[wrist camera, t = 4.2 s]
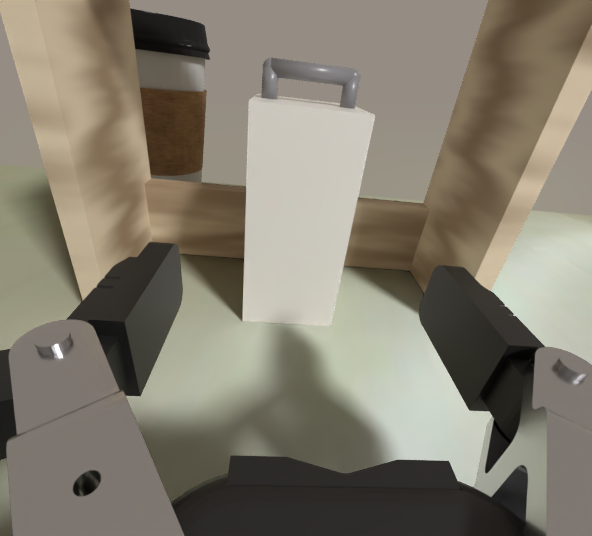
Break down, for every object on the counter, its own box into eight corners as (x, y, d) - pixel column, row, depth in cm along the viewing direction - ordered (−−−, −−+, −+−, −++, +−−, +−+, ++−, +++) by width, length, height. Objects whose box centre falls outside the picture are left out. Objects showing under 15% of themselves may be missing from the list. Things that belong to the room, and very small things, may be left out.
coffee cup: (151, 185, 35) (130, 14, 28) (225, 197, 35) (225, 24, 27) (99, 211, 28) (51, -10, 21) (191, 227, 28) (177, 3, 20)
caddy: (330, 326, 18) (385, 69, 12) (242, 321, 18) (250, 52, 12) (321, 278, 23) (358, 70, 16) (250, 273, 22) (258, 58, 16)
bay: (469, 333, 19) (718, -164, 9) (85, 311, 17) (-100, -338, 8) (418, 263, 26) (531, -62, 16) (142, 242, 24) (84, -139, 15)
